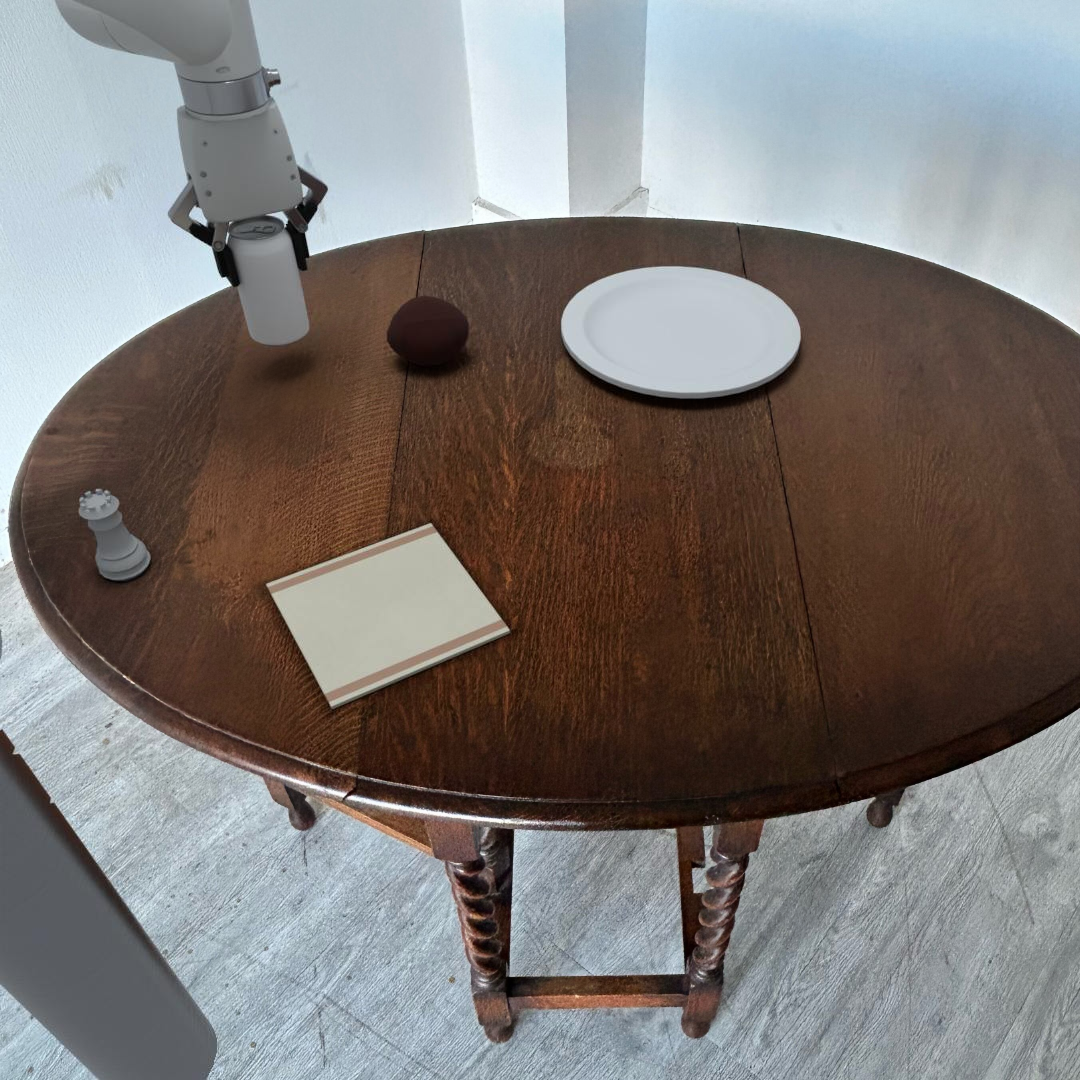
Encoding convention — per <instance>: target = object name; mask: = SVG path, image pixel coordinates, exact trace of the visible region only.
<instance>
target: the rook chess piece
mask: <svg viewBox="0 0 1080 1080" xmlns="http://www.w3.org/2000/svg"><path fill="white" fill-rule="evenodd" d="M84 496H85V497H84ZM84 496H80V498H79V500H78V503H79V508H78V510H77V511H78V515H79V516H80V517H82V518H83V519H85V520H86V521H87V527H88V528H89V529H90V530H92V531H93V533H94V536H95V540H96V542H97V547H96V553H95V556H94V559H95V563H96V567H97V568H98V572H99V574H100V575H101V576H102V577H103V578H105V579H108V580H111V581H115V582H125V581H128V580H133V579H135V578H137V577H138V576H140V575H142V574H144V573H143V572H145V570H146V569H148V567H149V564H150V561H151V558H152V557H151V554H150V552H149V551H148V550H147V547H146V544H144V542H143V541H141V540H140V539H139V538H137V537H136V536H135V535H134V534H131V533H130V532H129V529H128V528H127V527H126V526H125V524H124V523H123V515H122V513H121V512H120V511H119V510H118V509H119V506H120V501H119V498H117V497H116V496H114V495H112V494H111V492H110V491H109V490H108V489H106V490H103V489H102V488H95V493H93V494H92V492H91V491H90V490H88V491H86V492H85V493H84Z"/></svg>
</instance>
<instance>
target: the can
mask: <svg viewBox="0 0 1080 1080" xmlns="http://www.w3.org/2000/svg"><path fill="white" fill-rule="evenodd" d="M227 234H228V235H227V236H228V237H227V239H226V244H227V245H228V246H229V248H230V249H231V251H232V254H233V258H234V262H235V266H236V270H237V274H238V278H239V282H240V285H239V286H238V287H236V288H237V292H238V295H239V299H240V303H241V307H242V312H243V315H244V319H245V323H246V326H247V330H248V333H249V336H250V338H251V339H252V340H253V341H255V342H256V343H258V344H259V345H262V346H266V347H273V348H274V347H275V348H277V347H278V348H279V347H287V346H291V345H293V344H297V343H298V342H300V341H302V340H303V339H304V338H305V337H306V336H307V334H308V333H309V331H310V321H309V315H308V311H307V307H306V301H305V296H304V291H303V287H302V282H301V281H302V280H301V277H300V272H299V271H300V270H299V268H298V267H297V262H296V257H295V252H294V248H293V243H292V239H291V236H290V235H289V233H288V232H287V230H286V229H285V222H284V221H283V220H282V219H281V218H279V217H277V216H273V215H271V214H267V215H263V216H258V217H253V218H248V219H243V220H238V221H234V222H230V223H229V227H228V232H227Z"/></svg>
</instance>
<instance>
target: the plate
mask: <svg viewBox="0 0 1080 1080" xmlns="http://www.w3.org/2000/svg"><path fill="white" fill-rule="evenodd" d="M785 302H786V301H785ZM785 302H784V300H783V299H781V298H780V297H779V296H778V295H776V294H775V293H773V291H770V290H769V289H767V288H765V287H763V286H762V285H760V284H758V283H755V282H753V281H751V280H749V279H747V278H744V277H740V276H737V275H734V274H731V273H727V272H723V271H718V270H714V269H708V268H703V267H695V266H694V267H692V266H680V265H677V266H676V265H675V266H674V265H673V266H670V265H668V266H651V267H641V268H636V269H635V268H634V269H629V270H625V271H621V272H617V273H614V274H611V275H608V276H605V277H603V278H601V279H598V280H596V281H594V282H593V283H590V284H589V285H587V286H585V287H584V288H583V289H581V290H580V291H578V292H577V293H576V294H575V295H574V296H573V297H572V298H571V300H569V301H568V303H567V304H566V307H565V309H563V313H562V316H561V319H560V329H561V330H560V332H561V338H562V342H563V345H564V347H565V349H566V351H567V352H568V354H569V355H570V357H572V358H573V359H574V361H576V363H577V364H578V365H580V366H581V367H582V368H583V369H585V370H586V371H587V372H589V373H590V374H592V375H594V376H595V377H597V378H599V379H601V380H603V381H604V382H607V383H609V384H612V385H614V386H617V387H619V388H622V389H625V390H628V391H632V392H636V393H640V394H643V395H648V396H649V395H650V396H655V397H661V398H671V399H672V398H673V399H708V398H717V397H725V396H730V395H734V394H740V393H743V392H747V391H749V390H753V389H755V388H758V387H759V386H762V385H765V384H767V383H769V382H770V381H772V380H773V379H775V378H777V377H778V376H779V375H781V374H782V373H784V372H785V371H786V370H787V369H788V368H789V367H790V366H791V365H792V363H794V360H795V358H796V357H797V355H798V353H799V349H800V345H801V340H802V336H801V335H802V334H801V327H800V323H799V321H798V318H797V316H796V315H795V313H794V311H793V310H792V309H791V307H790V306H789V305H787V303H785Z"/></svg>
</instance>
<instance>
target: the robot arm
mask: <svg viewBox="0 0 1080 1080" xmlns="http://www.w3.org/2000/svg"><path fill="white" fill-rule="evenodd" d="M54 2H55V5H56V8H57V9H58V12H59V14H60V16H61V17H62V18H63V20H64V21H65V23H66V24H67V25H68V26H69V27H70V28H71V29H72V30H73V31H74V32H75V33H76V34H78V35H79V36H81V38H84V39H85V40H87V41H89V42H90V43H92V44H95V45H97V46H100V47H103V48H107V49H111V50H115V51H119V52H123V53H128V54H132V55H137V56H142V57H143V56H144V57H147V58H152V59H157V60H162V61H166V62H170V63H173V66H174V69H175V74H176V78H177V81H178V85H179V88H180V93H181V96H182V99H183V104H184V105H180V106H179V107H177V109H176V121H177V123H176V124H177V130H178V132H177V133H178V139H179V146H180V151H181V156H182V163H183V167H184V171H185V176H186V180H187V183H186V184H185V186H184V187H183V189H182V190H181V192H180V193H179V195H178V196H177V198H176V199H175V200H174V202H173V203H172V204H171V207H170V208H169V210H168V211H167V216H168V218H169V220H170V221H171V222H172V223H173V224H174V225H175V226H177V227H179V228H180V229H182V230H183V231H185V232H186V233H188V234H190V235H191V236H193V238H195V239H197V240H199V241H200V242H202V243H203V244H206V245H207V246H209V247H210V248H211V250H212V253H213V258H214V261H215V265H216V268H217V272H218V274H219V276H220V278H221V279H223V278H226V279H227V281H228V282H229V283H230V285H231V287H232V288H233V289H234V288H237V287H238V286H239V285H240V282H239V278H238V274H237V270H236V266H235V262H234V258H233V254H232V251H231V249H230V248H229V246H228V245H227V238H228V237H227V236H228V227H229V225H230V223H232V222H234V221H238V220H243V219H248V218H253V217H258V216H263V215H272V214H276V213H283V215H284V216H285V218H286V219H287V221H286V223H285V226H284V228H285V229H286V230H287V232H288V233H289V235H290V236H291V239H292V243H293V248H294V252H295V257H296V262H297V267H298V271H302V272H305V271H308V263H307V259H310V258H311V257H310V250H309V244H308V241H307V236H306V233H307V231H308V230H309V224H310V222H311V221H312V220H313V218H314V216H315V215H316V213H317V212H318V210H319V209H318V208H319V205H321V203H322V201H323V200H324V198H325V197H326V195H327V193H328V191H329V187H328V185H327V184H326V183H325V182H324V181H323V180H322V179H320V178H319V177H317V176H315V175H314V174H313V173H311V172H309V171H308V170H306V169H305V168H303V167H301V165H299V164H298V163H297V160H296V157H295V153H294V150H293V147H292V144H291V140H290V137H289V133H288V130H287V127H286V124H285V122H284V121H285V120H284V118H283V116H282V113H281V110H280V108H279V106H278V103H277V101H276V100H275V98H274V97H273V96H272V95H271V94H270V92H271V88H274V86H278V85H281V84H282V80H281V75H280V71H279V70H278V69H277V68H271V69H270V68H266V67H264V65H263V64H262V63H263V62H262V58H261V53H260V49H259V45H258V39H257V35H256V30H255V23H254V20H253V16H252V11H251V4H250V0H54ZM302 185H303V186H305V187H307V191H306V194H305V196H304V191H303V186H302ZM194 207H195V208H196V209H197V208H199V209H200V210H201V212H202V214H203V217H204V218H205V220H206V222H205V223H206V224H203V223H202V222H200V221H199V220H196V219H193V218H192V217H191V216H190V214H191V212H192V210H193V209H194Z"/></svg>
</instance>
